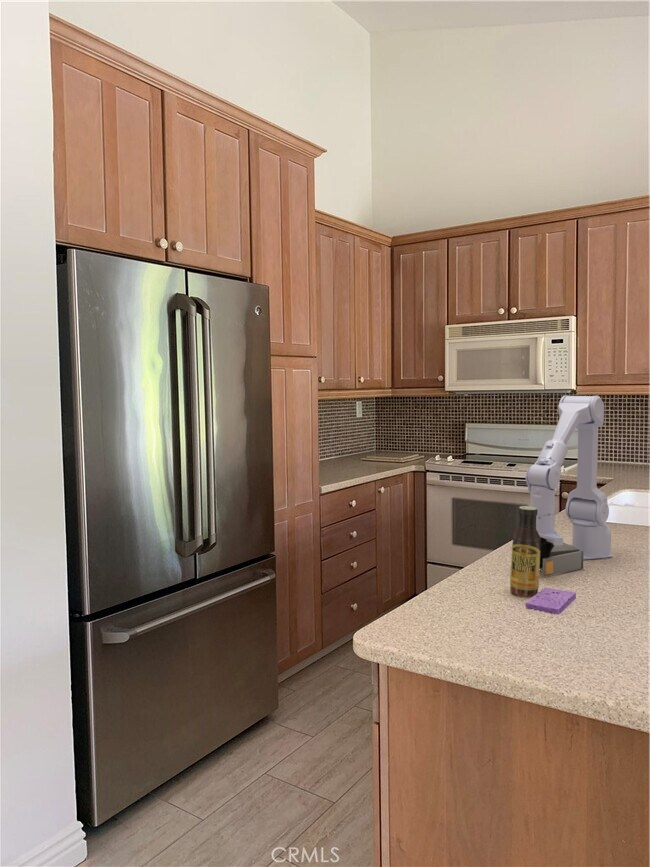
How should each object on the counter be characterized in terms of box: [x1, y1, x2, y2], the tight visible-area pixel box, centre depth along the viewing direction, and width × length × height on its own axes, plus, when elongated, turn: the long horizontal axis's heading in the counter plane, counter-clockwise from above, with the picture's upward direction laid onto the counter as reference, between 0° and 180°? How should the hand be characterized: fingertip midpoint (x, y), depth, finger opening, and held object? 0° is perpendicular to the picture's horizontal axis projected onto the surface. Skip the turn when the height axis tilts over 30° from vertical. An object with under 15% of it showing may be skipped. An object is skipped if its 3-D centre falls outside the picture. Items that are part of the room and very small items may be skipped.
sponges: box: [524, 586, 577, 615], centre depth 143 cm, size 7×13×2 cm, turn 143°
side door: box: [542, 551, 584, 578], centre depth 163 cm, size 14×1×4 cm, turn 118°
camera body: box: [539, 542, 580, 572], centre depth 170 cm, size 11×8×6 cm
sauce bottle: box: [509, 505, 541, 598], centre depth 148 cm, size 7×6×20 cm
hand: (541, 567), depth 162 cm, fingers closed
